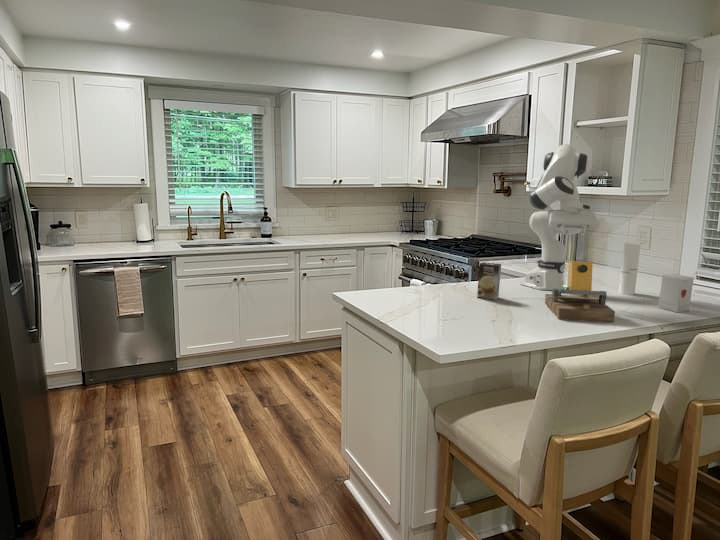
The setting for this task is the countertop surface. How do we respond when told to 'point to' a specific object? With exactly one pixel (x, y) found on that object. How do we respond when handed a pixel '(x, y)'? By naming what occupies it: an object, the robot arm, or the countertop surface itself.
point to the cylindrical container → (629, 268)
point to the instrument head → (580, 279)
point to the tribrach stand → (579, 307)
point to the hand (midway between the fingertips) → (574, 234)
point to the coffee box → (489, 280)
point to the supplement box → (675, 292)
